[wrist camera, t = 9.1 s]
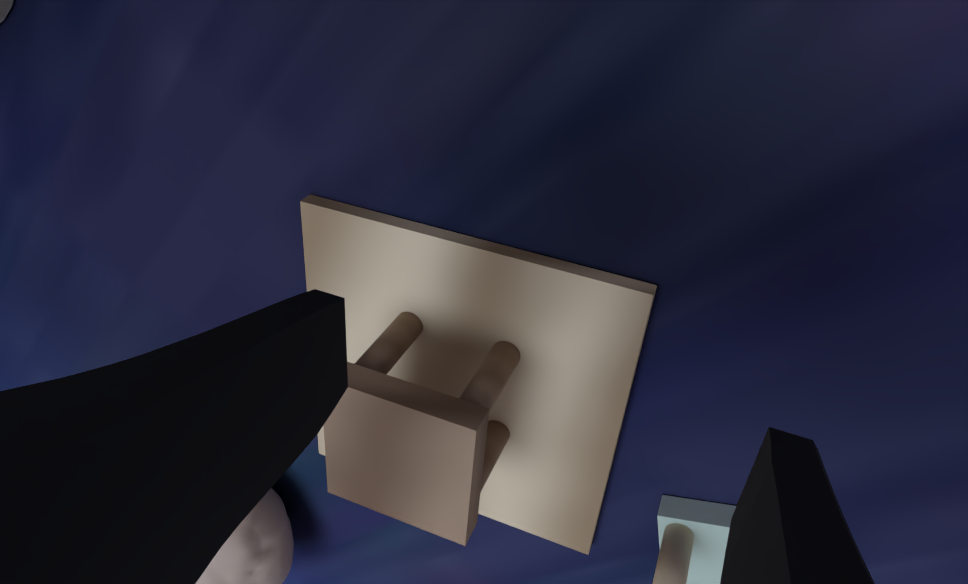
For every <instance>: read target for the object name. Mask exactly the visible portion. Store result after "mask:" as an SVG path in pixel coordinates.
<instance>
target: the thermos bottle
mask: <svg viewBox="0 0 968 584" xmlns="http://www.w3.org/2000/svg"><path fill="white" fill-rule="evenodd" d="M12 4H13V0H0V23H1V22H2V21H4V19H5V18H6V16H7V14H8V13H9V11H10V9H11V7H12Z"/></svg>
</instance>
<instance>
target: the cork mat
mask: <svg viewBox="0 0 968 584" xmlns="http://www.w3.org/2000/svg"><path fill="white" fill-rule="evenodd" d="M300 203H301V217H302V230H303V244H304V258H305V271H306V285H307V291H311V290H314V289H317V290H320V291H323V292H326V293H330V294H333V295H336V296H340V297H343V298H345V320H346V346H347V362H350V363H353V364H354V363H355V362H356V361H357V360H358V359H359V358H360V357H361V356H362V355H363V354H364V353H365V351H366V350H367V349H368V348H369V347H370V346H371V345H372V344H373V343H374V342H375V340H376V339H377V338H378V337H379V336H380V335H381V334H382V333H383V332H384V331H385V329H386V328H387V327H388V326H389V325H390V324H391V323H392V322H393V321H394V320H395V319H396V317H397V316H398V315H399V314H400V313H402V312H411V313H414V314H415V315H417V316H418V317H419V318H420V320H421V322H422V324H423V330H422V332H421V334H420V335H419V336H418V337H417V338H416V340H415V341H414V342H413V343H412V345H411V346H410V347H409V348H408V349H407V351H406V352H405V353H404V354H403V355H402V357H401V358H400V359H399V360H398V361H397V363H396V364H395V365H394V366H393V367H392V369H391V370H390V371H389V372H388V373H387V375H389V376H392V377H396V378H399V379H402V380H405V381H408V382H411V383H414V384H417V385H420V386H423V387H426V388H429V389H432V390H435V391H438V392H441V393H444V394H447V395H450V396H453V397H456V398H459V397H460V396H461V394H462V393H463V391H464V390H465V388H466V387H467V385H468V384H469V382H470V381H471V379H472V378H473V376H474V375H475V373H476V372H477V370H478V369H479V367H480V366H481V364H482V362H483V361H484V359H485V358H486V356H487V355H488V353H489V352H490V350H491V349H492V347H493V346H494V344H495V343H497V342H499V341H508V342H510V343H512V344H514V345H515V346H516V347H517V348H518V350H519V352H520V361H519V362H518V364H517V366H516V367H515V369H514V371H513V372H512V374H511V376H510V378H509V379H508V381H507V383H506V384H505V386H504V388H503V390H502V391H501V393H500V395H499V396H498V398H497V400H496V402H495V403H494V405H493V407H492V408H491V410H490V412H489V418H488V421H490V420H496V421H499V422H501V423H503V424H504V425H506V426H507V428H508V429H509V431H510V437H509V439H508V441H507V443H506V445H505V447H504V449H503V451H502V453H501V455H500V456H499V458H498V460H497V462H496V464H495V466H494V468H493V470H492V472H491V474H490V476H489V477H488V479H487V481H486V483H485V485H484V487H483V489H482V491H481V493H480V501H479V510H478V514H481V515H484V516H486V517H489V518H492V519H494V520H497V521H500V522H502V523H505V524H508V525H510V526H513V527H516V528H518V529H521V530H523V531H526V532H529V533H531V534H534V535H537V536H539V537H542V538H545V539H547V540H550V541H553V542H555V543H558V544H561V545H563V546H566V547H569V548H571V549H574V550H576V551H579V552H582V553H584V554H587V555H588V554H589V551H590V548H591V545H592V541H593V537H594V533H595V530H596V526H597V522H598V518H599V514H600V510H601V506H602V502H603V498H604V494H605V490H606V486H607V482H608V478H609V474H610V470H611V466H612V462H613V458H614V454H615V450H616V446H617V442H618V438H619V435H620V431H621V427H622V423H623V419H624V415H625V411H626V407H627V403H628V399H629V395H630V391H631V387H632V383H633V379H634V375H635V371H636V367H637V363H638V359H639V355H640V351H641V347H642V343H643V339H644V336H645V332H646V328H647V324H648V320H649V316H650V312H651V308H652V304H653V300H654V296H655V292H656V288H657V285H654V284H650V283H646V282H643V281H639V280H635V279H631V278H627V277H623V276H620V275H616V274H612V273H608V272H604V271H601V270H597V269H593V268H589V267H585V266H581V265H578V264H574V263H570V262H566V261H562V260H559V259H555V258H551V257H547V256H543V255H539V254H536V253H532V252H528V251H524V250H520V249H517V248H513V247H509V246H505V245H501V244H497V243H494V242H490V241H486V240H482V239H478V238H475V237H471V236H467V235H463V234H459V233H455V232H452V231H448V230H444V229H440V228H436V227H433V226H429V225H425V224H421V223H417V222H413V221H410V220H406V219H402V218H398V217H394V216H391V215H387V214H383V213H379V212H375V211H371V210H368V209H364V208H360V207H356V206H352V205H349V204H345V203H341V202H337V201H333V200H329V199H326V198H322V197H318V196H314V195H309V196H307V197H306V198H304V199H303V200H301V201H300ZM318 447H319V454H322V455H325V441H324V426H323V427H322V428H321V430H320V431H319V433H318Z"/></svg>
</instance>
